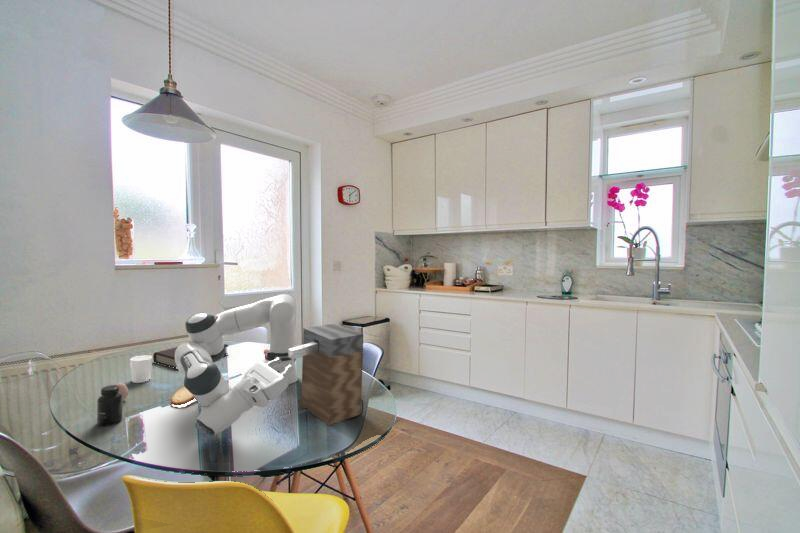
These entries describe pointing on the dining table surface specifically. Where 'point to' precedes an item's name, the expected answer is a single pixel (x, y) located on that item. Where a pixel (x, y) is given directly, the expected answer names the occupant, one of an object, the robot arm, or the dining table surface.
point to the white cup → (141, 368)
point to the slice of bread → (182, 397)
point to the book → (167, 357)
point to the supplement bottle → (109, 406)
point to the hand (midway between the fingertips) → (286, 362)
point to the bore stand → (333, 373)
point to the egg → (123, 389)
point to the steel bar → (303, 350)
